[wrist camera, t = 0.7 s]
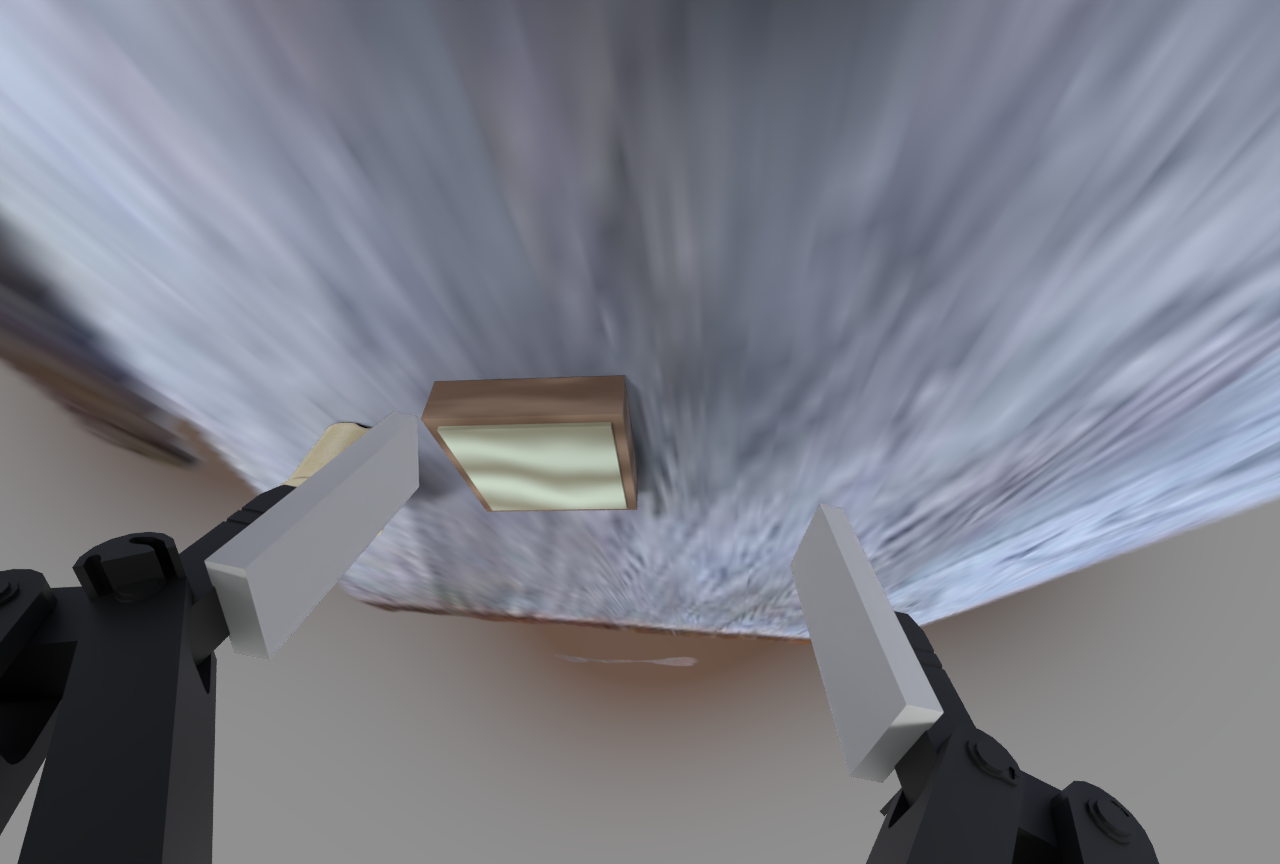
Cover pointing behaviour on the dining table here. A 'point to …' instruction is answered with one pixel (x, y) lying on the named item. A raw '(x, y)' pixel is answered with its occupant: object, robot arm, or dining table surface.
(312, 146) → the dining table surface
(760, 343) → the dining table surface
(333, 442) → the flower pot
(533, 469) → the brown flat square box
